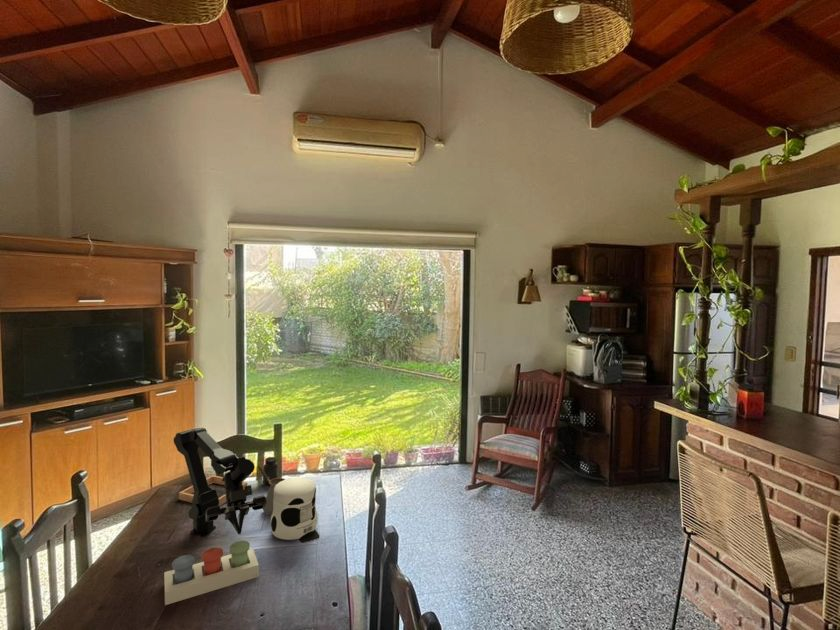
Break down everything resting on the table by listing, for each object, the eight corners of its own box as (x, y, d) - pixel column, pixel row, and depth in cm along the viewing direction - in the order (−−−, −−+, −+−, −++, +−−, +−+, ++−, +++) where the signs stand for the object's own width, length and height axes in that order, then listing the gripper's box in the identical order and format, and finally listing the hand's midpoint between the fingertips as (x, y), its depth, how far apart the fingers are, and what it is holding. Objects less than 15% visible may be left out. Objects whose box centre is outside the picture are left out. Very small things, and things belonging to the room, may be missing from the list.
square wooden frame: (178, 499, 186) (178, 492, 186) (212, 481, 204) (212, 475, 204) (215, 508, 180) (215, 501, 180) (247, 488, 198) (247, 482, 198)
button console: (164, 584, 134) (164, 572, 134) (252, 559, 147) (252, 548, 147) (164, 605, 125) (164, 592, 125) (258, 576, 139) (258, 564, 139)
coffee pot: (296, 511, 180) (297, 476, 179) (271, 521, 171) (271, 485, 170) (269, 494, 194) (269, 461, 193) (244, 503, 185) (245, 469, 184)
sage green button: (228, 561, 141) (228, 543, 141) (247, 556, 145) (247, 538, 144) (230, 572, 136) (231, 553, 136) (250, 566, 139) (251, 548, 139)
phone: (307, 518, 174) (320, 536, 162) (307, 520, 174) (320, 538, 162) (288, 523, 170) (301, 542, 158) (288, 525, 170) (301, 544, 158)
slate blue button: (172, 577, 133) (172, 558, 133) (193, 571, 136) (193, 552, 136) (172, 588, 128) (172, 569, 128) (195, 582, 131) (195, 563, 131)
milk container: (279, 518, 174) (280, 475, 172) (322, 520, 173) (323, 477, 172) (263, 544, 156) (263, 496, 155) (310, 546, 156) (311, 498, 155)
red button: (200, 569, 137) (201, 550, 137) (221, 563, 140) (221, 545, 140) (202, 580, 132) (202, 561, 132) (224, 574, 135) (224, 555, 135)
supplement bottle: (263, 487, 199) (263, 462, 199) (261, 481, 205) (261, 457, 205) (278, 485, 203) (279, 460, 202) (276, 479, 209) (276, 455, 208)
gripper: (206, 484, 141) (210, 533, 132) (265, 472, 151) (273, 517, 142) (203, 497, 148) (207, 545, 139) (260, 485, 158) (267, 529, 149)
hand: (239, 533), depth 142 cm, fingers closed
